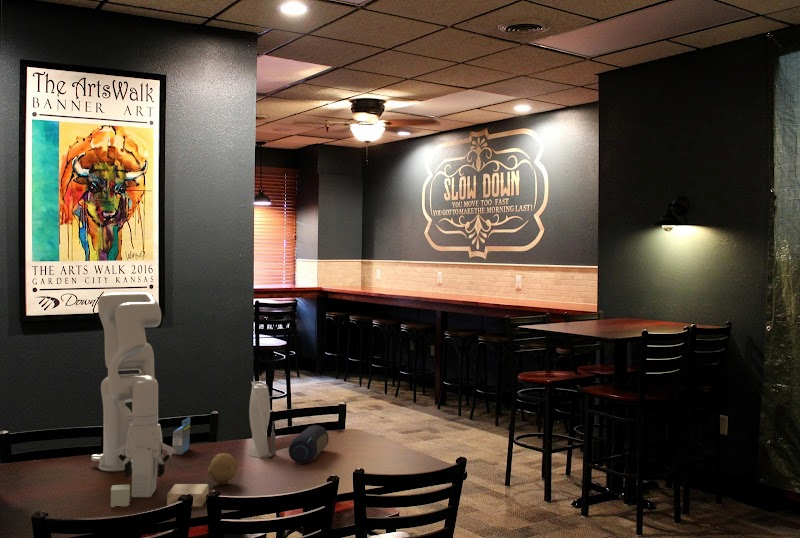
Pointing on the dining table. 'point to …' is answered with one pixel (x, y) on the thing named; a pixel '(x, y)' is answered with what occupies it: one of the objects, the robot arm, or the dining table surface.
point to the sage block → (120, 495)
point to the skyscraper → (260, 421)
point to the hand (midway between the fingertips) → (144, 476)
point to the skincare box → (143, 472)
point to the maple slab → (193, 489)
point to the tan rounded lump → (222, 468)
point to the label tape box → (181, 438)
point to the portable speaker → (308, 444)
